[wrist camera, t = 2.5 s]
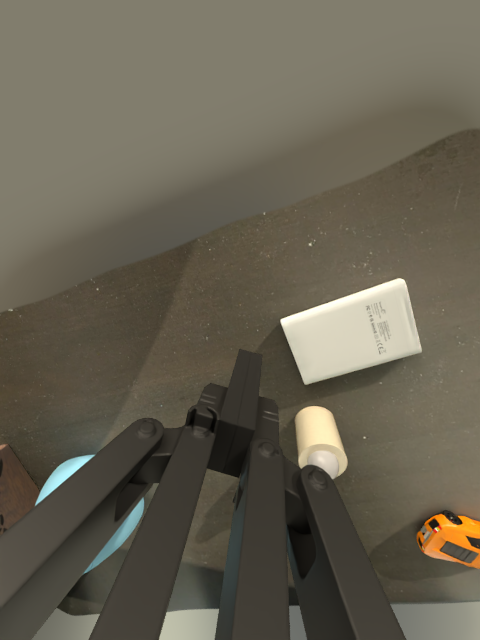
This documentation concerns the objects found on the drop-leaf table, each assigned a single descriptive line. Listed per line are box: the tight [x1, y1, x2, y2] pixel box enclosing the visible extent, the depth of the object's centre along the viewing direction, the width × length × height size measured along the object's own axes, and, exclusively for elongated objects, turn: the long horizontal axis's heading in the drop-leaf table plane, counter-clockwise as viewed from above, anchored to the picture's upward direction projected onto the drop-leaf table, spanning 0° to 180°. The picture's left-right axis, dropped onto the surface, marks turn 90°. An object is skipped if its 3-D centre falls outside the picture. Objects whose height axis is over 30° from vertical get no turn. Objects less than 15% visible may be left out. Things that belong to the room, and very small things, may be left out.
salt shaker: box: [295, 406, 347, 480], centre depth 29 cm, size 5×5×8 cm
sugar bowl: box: [35, 455, 144, 574], centre depth 37 cm, size 15×15×12 cm
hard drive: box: [281, 278, 422, 385], centre depth 28 cm, size 2×8×12 cm
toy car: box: [417, 510, 480, 569], centre depth 34 cm, size 12×12×3 cm
